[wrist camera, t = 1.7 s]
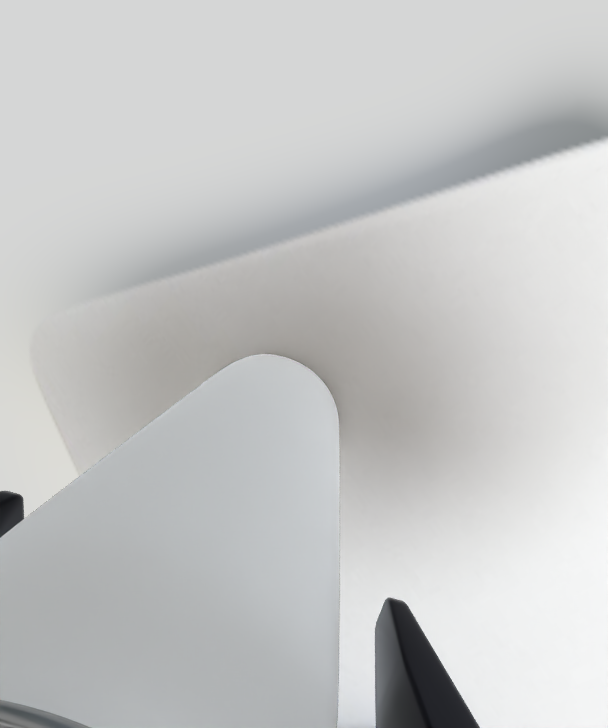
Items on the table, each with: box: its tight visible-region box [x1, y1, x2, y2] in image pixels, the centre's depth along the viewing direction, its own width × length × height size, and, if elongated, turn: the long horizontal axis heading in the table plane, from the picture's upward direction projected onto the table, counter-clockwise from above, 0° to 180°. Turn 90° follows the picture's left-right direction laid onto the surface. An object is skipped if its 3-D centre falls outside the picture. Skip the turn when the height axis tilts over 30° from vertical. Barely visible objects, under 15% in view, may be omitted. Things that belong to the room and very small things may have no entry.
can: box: [0, 354, 340, 728], centre depth 9 cm, size 6×6×12 cm
